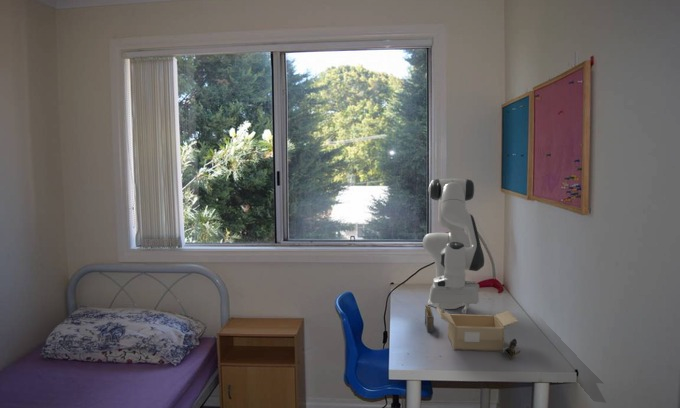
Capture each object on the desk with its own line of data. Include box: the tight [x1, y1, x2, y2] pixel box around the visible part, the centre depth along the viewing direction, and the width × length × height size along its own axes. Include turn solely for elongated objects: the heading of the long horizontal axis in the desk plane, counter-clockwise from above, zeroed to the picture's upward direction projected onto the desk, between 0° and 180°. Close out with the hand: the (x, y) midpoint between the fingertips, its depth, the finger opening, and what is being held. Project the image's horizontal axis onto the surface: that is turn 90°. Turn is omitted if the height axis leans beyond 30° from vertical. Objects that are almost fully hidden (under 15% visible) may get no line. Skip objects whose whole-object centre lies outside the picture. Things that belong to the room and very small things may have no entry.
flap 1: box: [436, 307, 454, 325], centre depth 203 cm, size 13×1×6 cm
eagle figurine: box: [501, 338, 521, 361], centre depth 191 cm, size 8×7×9 cm
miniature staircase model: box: [424, 304, 434, 333], centre depth 221 cm, size 11×3×10 cm, turn 175°
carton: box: [447, 313, 505, 352], centre depth 203 cm, size 16×20×10 cm
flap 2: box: [494, 310, 519, 328], centre depth 202 cm, size 13×1×6 cm
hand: (453, 313), depth 203 cm, fingers open, 7 cm apart
